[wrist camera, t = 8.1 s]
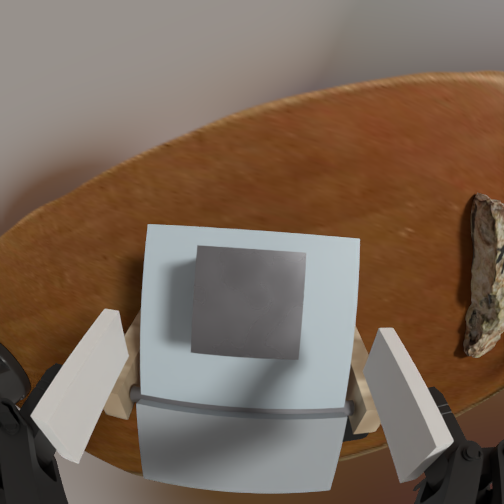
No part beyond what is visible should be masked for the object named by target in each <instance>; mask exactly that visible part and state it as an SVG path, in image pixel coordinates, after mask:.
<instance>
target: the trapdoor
mask: <svg viewBox="0 0 504 504" xmlns="http://www.w3.org/2000/svg"><path fill="white" fill-rule="evenodd" d="M197 245H201V246H216V247H231V248H246V249H261V250H275V251H290V252H304V253H306V270H305V287H304V302H303V315H302V327H301V339H300V350H299V360H285V359H261V358H244V357H230V356H218V355H208V354H198V353H191V333H192V313H193V296H194V281H195V267H196V254H197ZM359 256H360V239H357V238H345V237H334V236H322V235H309V234H297V233H283V232H270V231H256V230H241V229H226V228H210V227H193V226H175V225H156V224H148V229H147V237H146V247H145V258H144V270H143V283H142V300H141V326H140V381H141V387H137V386H133V387H132V388H131V392H130V399H131V401H132V402H137V403H136V408H137V422H138V434H139V444H140V453H141V462H142V469H143V476H144V478H145V479H149V480H154V481H158V482H163V483H168V484H174V485H179V486H186V487H192V488H199V489H207V490H216V491H227V492H243V493H299V492H314V491H325V490H330V488H331V485H332V481H333V477H334V474H335V470H336V466H337V462H338V458H339V454H340V450H341V446H342V441H343V437H344V432H345V427H346V422H347V416H352V415H353V413H354V408H355V407H354V402H353V400H346V401H345V398H346V392H347V386H348V380H349V373H350V365H351V358H352V350H353V341H354V332H355V321H356V310H357V296H358V280H359Z"/></svg>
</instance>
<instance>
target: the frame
mask: <svg viewBox="0 0 504 504" xmlns="http://www.w3.org/2000/svg"><path fill="white" fill-rule="evenodd" d="M140 326H141V309H140V311H139V313H138V314H137V316H136V317H135V319H134V321H133V322H132V324H131V326H130V327H129V329H128V331H127V333H126V334H125V336H124V338H125V342H126V346H127V350H128V355H129V357H128V359H127V361H126V363H125V365H124V367H123V369H122V371H121V373H120V375H119V377H118V379H117V381H116V383H115V385H114V387H113V389H112V391H111V393H110V395H109V397H108V399H107V401H106V403H105V406H104V410H105V412H106V414H107V415H111V416H115V417H119V418H123V419H127V420H128V418H129V416H130V413H131V410H132V408H133V405H134V403H135V402H132V401H131V399H130V392H131V388H132V387H133V386H137V387H141V381H140ZM368 356H369V355H368V353H367V351H366V348H365V346H364V344H363V342H362V339H361V337H360V335H359V333H358V330H357V328H356V326H355V332H354V341H353V350H352V358H351V365H350V373H349V380H348V386H347V392H346V398H345V401H346V400H353V402H354V407H355V408H354V413H353V415H352V416H349V420H350V423H351V427H352V431H353V434H360V433H368V432H375V431H376V430H377V428H378V426H379V425H380V423H381V421H380V418H379V415H378V412H377V410H376V407H375V404H374V401H373V398H372V395H371V393H370V390H369V387H368V384H367V382H366V379H365V376H364V374H363V369H364V367H365V364H366V362H367V359H368Z"/></svg>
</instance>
